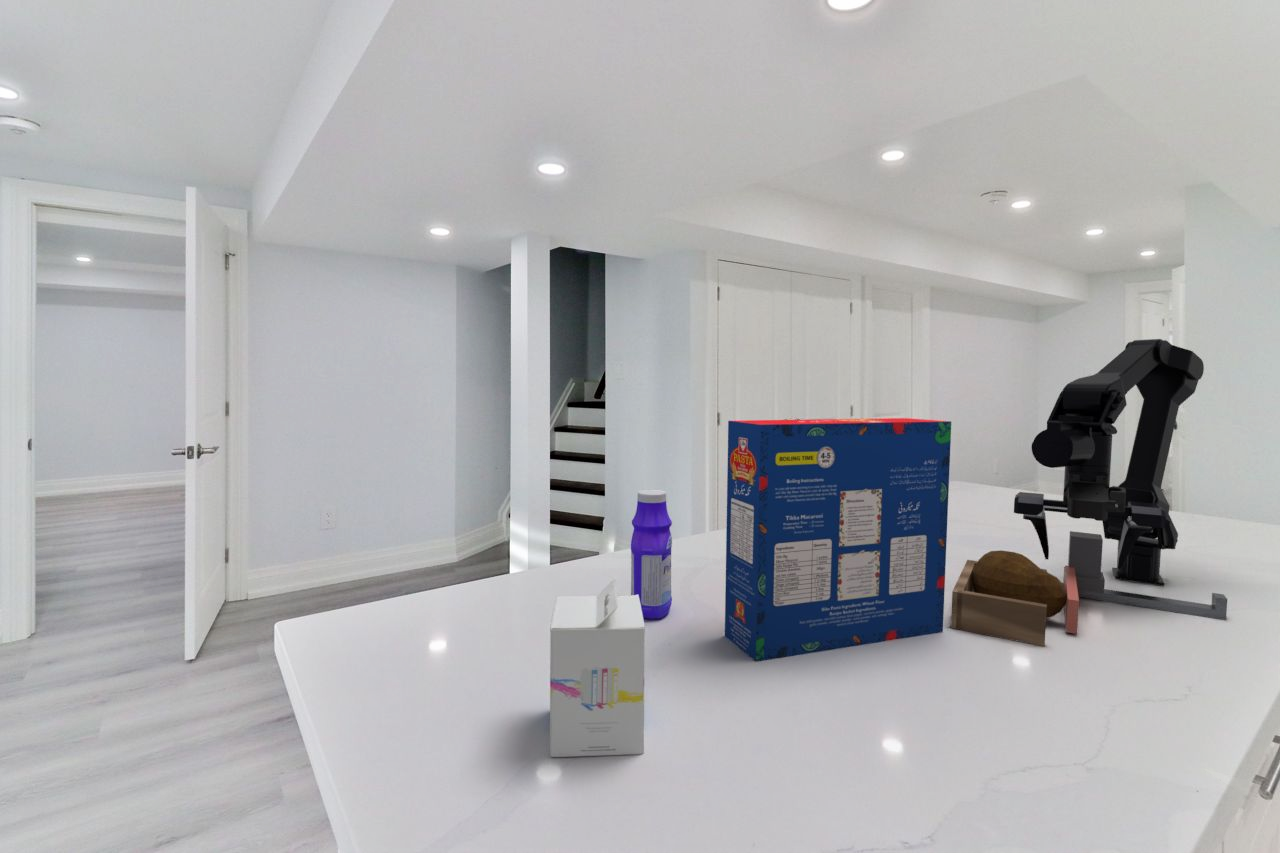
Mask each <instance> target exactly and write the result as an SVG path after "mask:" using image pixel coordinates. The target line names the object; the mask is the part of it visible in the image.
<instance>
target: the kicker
mask: <svg viewBox="0 0 1280 853" xmlns="http://www.w3.org/2000/svg"><path fill="white" fill-rule="evenodd" d="M1103 540H1104V539H1103V537H1102V534H1098V533H1089V532H1080V531H1072V530H1070V531H1069V540H1068V541H1069V543H1068V544H1069V545H1068V557H1067V558H1068V559H1067V565H1064V566H1063V583H1064V589H1065V591H1066V594H1067V597H1066V604H1065V606H1064V607H1063V609H1064V619H1065V620H1064V622H1065V633H1070V634H1074V635H1077V634H1078V626H1079V625H1078V624H1079V609H1080V608H1079V606H1080V604H1079V603H1080V599H1079V598H1080V597H1078V590H1085V591H1091V592H1098V593H1104V589H1105V584H1106V580H1105V577H1104V572H1103V571H1102V559H1103V558H1102V557H1103V556H1102V555H1103V545H1104V544H1103V542H1104V541H1103ZM1077 589H1078V590H1077Z"/></svg>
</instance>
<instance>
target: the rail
mask: <svg viewBox="0 0 1280 853" xmlns="http://www.w3.org/2000/svg"><path fill="white" fill-rule="evenodd" d="M1041 569H1042V570H1044V571H1047V572H1048V570H1047V569H1044V568H1041ZM1061 583H1062V584H1063V586H1064V582H1061ZM1077 590H1078V589H1077ZM1078 597H1079V598H1082V599H1083V598H1085V599H1090V600H1095V599H1096V600H1095V601H1102V600H1103V602H1108V601H1109V602H1108V603H1114V602H1117V603H1116V604H1121V603H1123V605H1127V604H1129V606H1133V605H1136V607H1140V606H1142V607H1141V608H1146V609H1154V610H1158V611H1159V610H1160V611H1167V612H1171V613H1172V612H1173V613H1179V614H1185V615H1190V616H1191V615H1193V616H1198V617H1203V618H1211V619H1218V620H1224V621H1226V620H1227V611H1228V610H1227V609H1228V598H1227V597H1226V595H1225V594H1223V593H1216V592H1212V593H1211V603H1210V604H1207V603H1200V602H1193V601H1187V600H1180V599H1173V598H1167V597H1160V596H1153V595H1146V594H1141V593H1133V592H1127V591H1119V590H1113V589H1106V588H1104V593H1098V592H1091V591H1085V590H1078Z"/></svg>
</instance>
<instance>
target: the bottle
mask: <svg viewBox="0 0 1280 853" xmlns="http://www.w3.org/2000/svg"><path fill="white" fill-rule="evenodd" d="M636 501H637V504H636V509H635V510H636V511H635V514H634V516H633V518H632V520H631V525H632V527H633V532H632V536H631V540H630V550H631V555H630V558H631V559H630V560H631V561H630V562H631V563H630V564H631V565H630V566H631V567H630V568H631V569H630V572H631V574H630V595H639V599H640V604H641V609H642V614H643V619H648V620H649V619H650V620H657V619H662V618H664V617H665V616H666V615H668V613H669V612H670V610H671V606H672V601H673V597H672V547H673V546H672V545H673V539H672V534H671V533H672V532H671V530H670V528H671V527H672V524H673V521H672V519H671V518H670V515H669V513H668V507H667V491H665V490H661V489H651V488H650V489H642V490H638V491H637V500H636Z"/></svg>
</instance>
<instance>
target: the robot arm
mask: <svg viewBox="0 0 1280 853" xmlns="http://www.w3.org/2000/svg"><path fill="white" fill-rule="evenodd" d="M1204 370H1205V365H1204V362H1203V359H1202V358H1201V357H1200V356H1198V355H1197V354H1196V353H1195V352H1194V350H1193V351H1192V350H1190V349H1187V348H1183V347H1180V346H1177V345H1173V344H1171V343H1170V342H1169V341H1168V340H1166V339H1164V340H1163V339H1161V338H1154V339H1153V338H1152V339H1134V340H1133V341H1129V342H1127V343H1126V345H1125V348H1124V350H1123V351H1121V352H1120V353H1118V355H1117V356H1115V357H1114V358H1113V359H1112V360H1111V361H1110V362H1108V363H1107V364H1105V366H1104V367H1103V368H1101V369H1100V370H1098V372H1097V373H1094V374H1093V375H1087V376H1083V377H1079V378H1077V379H1075V380H1074V379H1073V381H1070V382H1069V383H1067V384H1066V385H1064V387H1063V389H1062V390H1061V392H1060V393H1059V395H1058V398H1057V399H1056V400H1055V403H1054V406H1053V407H1052V410H1051V412H1050V414H1049V416H1048V418H1047V420H1046V429H1044V430H1042V431H1040V432H1039V433H1038V434H1036V435H1035V437H1034V439H1033V441H1032V443H1031V453H1032V455H1033V458H1034V459H1035V460H1036V461H1037V463H1039V464H1040V465H1042V466H1044V467H1047V468H1052V469H1054V468H1063V467H1064V480H1063V492H1062V494H1063V496H1062V500H1059V499H1046V498H1045V494H1044V493H1037V492H1036V493H1035V492H1024V491H1019V492H1018V493H1017V494H1015V497H1014V502H1013V514H1017V515H1023V516H1022V519H1023V520H1025V521H1030V523H1031V524H1032V526H1033V527H1034V530H1035V532H1036V533H1037V536H1038V540H1039V543H1040V547H1041V549H1042V552H1043V555H1044V559H1045V560H1047V561H1048V560H1049V554H1050V550H1049V547H1050V546H1049V537H1048V528H1047V527H1048V526H1047V518H1046V512H1054V513H1064V514H1065V513H1067V516H1068V517H1069V518H1073V519H1090V520H1091V519H1093V520H1095V521H1099V522H1100V521H1101V522H1102V527H1103V534H1104V539H1106V540H1114V541H1117V557H1116V558H1117V559H1116V567H1111V571H1112V574H1113V577H1114V579H1116V580H1122V581H1128V582H1136V583H1142V584H1150V585H1156V586H1165V585H1166V584H1165V581H1164V579H1163V577H1162V575H1161V574H1160V572H1161V570H1160V569H1161V557H1162V556H1161V555H1162V550H1175V549H1176V546H1177V543H1178V541H1179V540H1178V537H1179V533H1178V531H1177V529H1176V527H1175V524H1174V522H1173V519H1172V518H1171V516H1170V514H1169V513H1170V504H1169V501H1168V499H1167V498H1166V496H1165V494H1164V492H1163V490H1162V483H1163V480H1164V475H1165V470H1166V465H1167V462H1168V457H1169V452H1170V447H1171V443H1172V438H1173V434H1174V429H1175V425H1176V420H1177V418H1178V417H1177V416H1178V412H1179V408H1180V406H1181V405H1182V404H1183V403H1184V402H1185V401H1187V400H1188V399H1189V398H1190V397H1191V396H1192V395H1193V394H1194V393H1195V392H1196V389H1197V387H1198V383H1199V380H1201V379H1202V377H1203V374H1204ZM1135 386H1136V388H1137V389H1138V391H1139V393H1140V396H1141V397H1142V399H1143V400H1142V401H1143V402H1142V406H1141V411H1140V414H1139V418H1138V423H1137V428H1136V431H1135V436H1134V439H1133V444H1132V449H1131V454H1130V458H1129V464H1128V467H1127V472H1126V475H1125V476H1126V477H1125V479H1124V481H1122V482H1121V483H1120V484H1119V485H1117V486H1115V485H1113V486H1111V485H1110V484H1111V482H1110V480H1111V468H1112V467H1111V465H1112V463H1111V462H1112V449H1113V448H1112V447H1113V435H1116V434H1117V433H1118V430H1117V428H1116V427H1115V426H1114V425H1113V424H1115V423H1116V421H1118V420H1117V419H1118V418H1119V416H1121V414H1122V412H1123V411H1124V409H1125V408H1126V406H1127V399H1126V395H1127V393H1128V392H1129V391H1130V390H1132V388H1134V387H1135ZM1045 511H1046V512H1045Z"/></svg>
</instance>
